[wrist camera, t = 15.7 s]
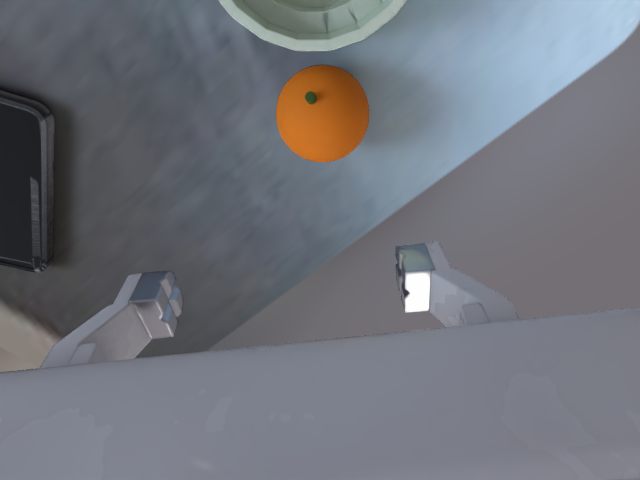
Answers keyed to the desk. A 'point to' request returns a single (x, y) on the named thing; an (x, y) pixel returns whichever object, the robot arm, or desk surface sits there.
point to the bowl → (312, 20)
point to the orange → (322, 113)
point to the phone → (26, 183)
